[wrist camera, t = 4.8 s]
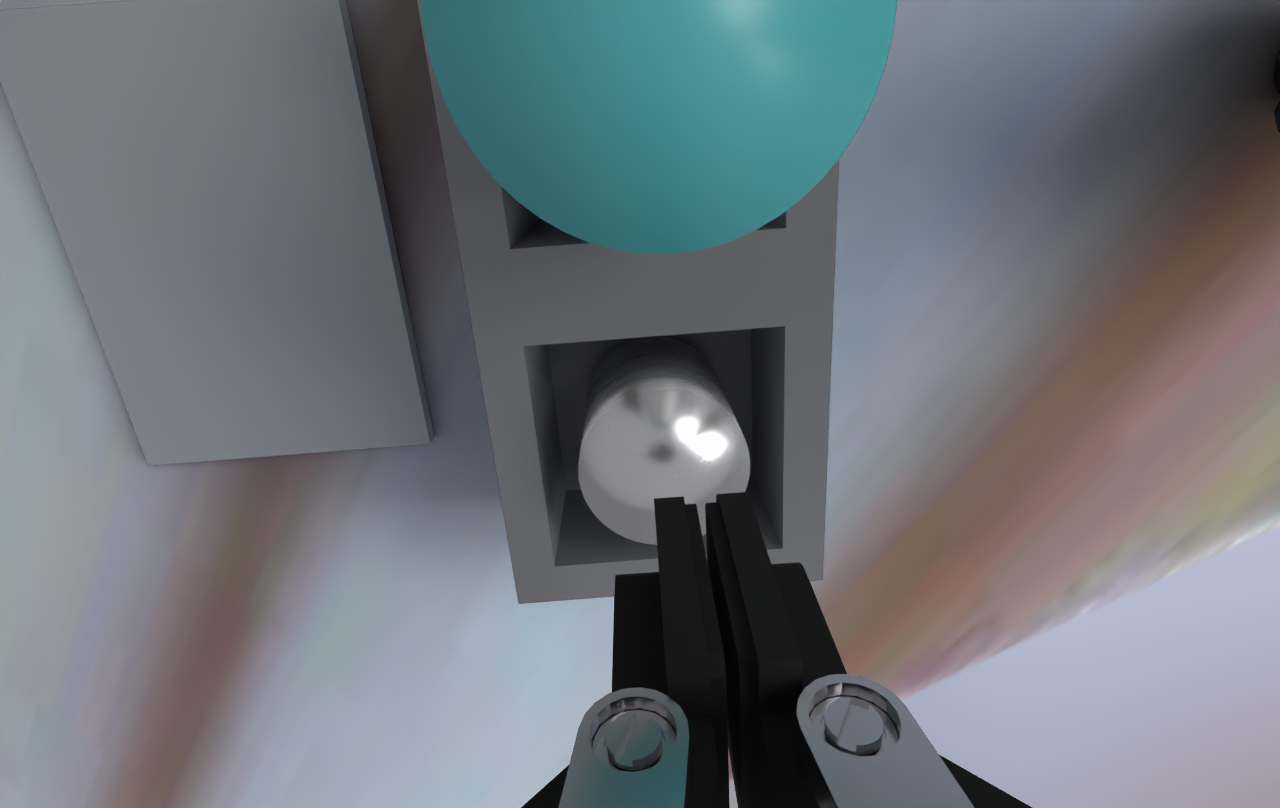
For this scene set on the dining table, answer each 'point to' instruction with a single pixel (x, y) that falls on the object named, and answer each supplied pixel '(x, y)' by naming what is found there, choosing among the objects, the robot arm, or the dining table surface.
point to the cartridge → (658, 107)
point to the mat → (223, 220)
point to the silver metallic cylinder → (657, 436)
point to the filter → (1279, 82)
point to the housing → (623, 311)
